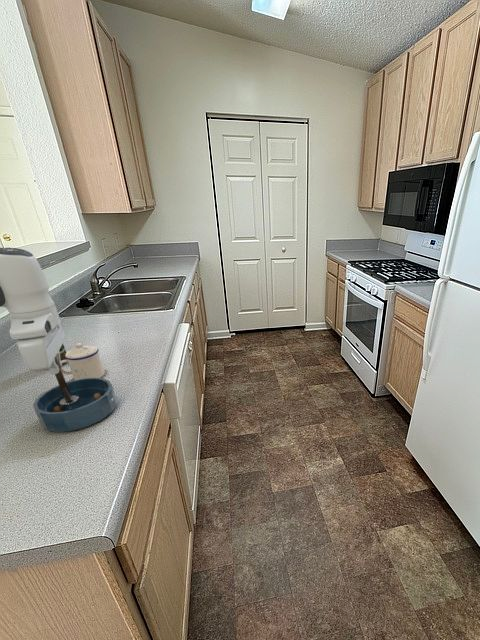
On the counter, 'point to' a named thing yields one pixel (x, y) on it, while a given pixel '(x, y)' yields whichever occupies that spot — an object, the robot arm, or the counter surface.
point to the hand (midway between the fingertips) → (56, 370)
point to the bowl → (80, 416)
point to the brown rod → (66, 393)
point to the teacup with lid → (84, 362)
